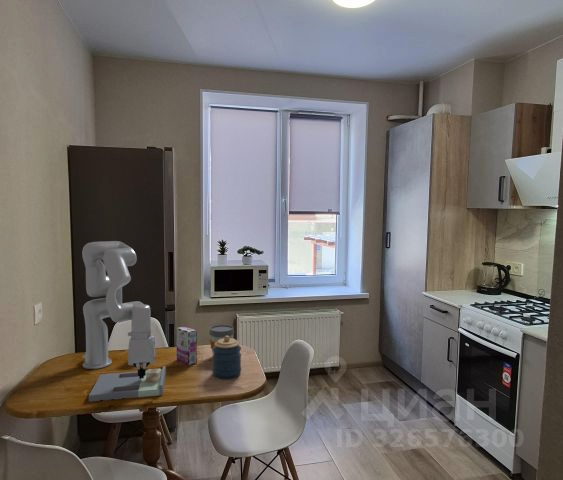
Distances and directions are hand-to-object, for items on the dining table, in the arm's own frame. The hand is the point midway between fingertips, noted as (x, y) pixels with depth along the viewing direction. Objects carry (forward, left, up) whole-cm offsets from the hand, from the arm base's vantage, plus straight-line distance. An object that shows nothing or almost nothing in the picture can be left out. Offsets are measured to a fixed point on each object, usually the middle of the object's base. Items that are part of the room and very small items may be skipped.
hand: (141, 377), depth 162 cm
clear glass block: (+4, +2, -1) cm, 5 cm away
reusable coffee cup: (+11, +44, -4) cm, 45 cm away
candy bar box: (-1, +31, -4) cm, 31 cm away
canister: (+25, +27, -4) cm, 37 cm away
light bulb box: (-22, +24, -4) cm, 33 cm away
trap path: (-4, -3, -4) cm, 6 cm away
